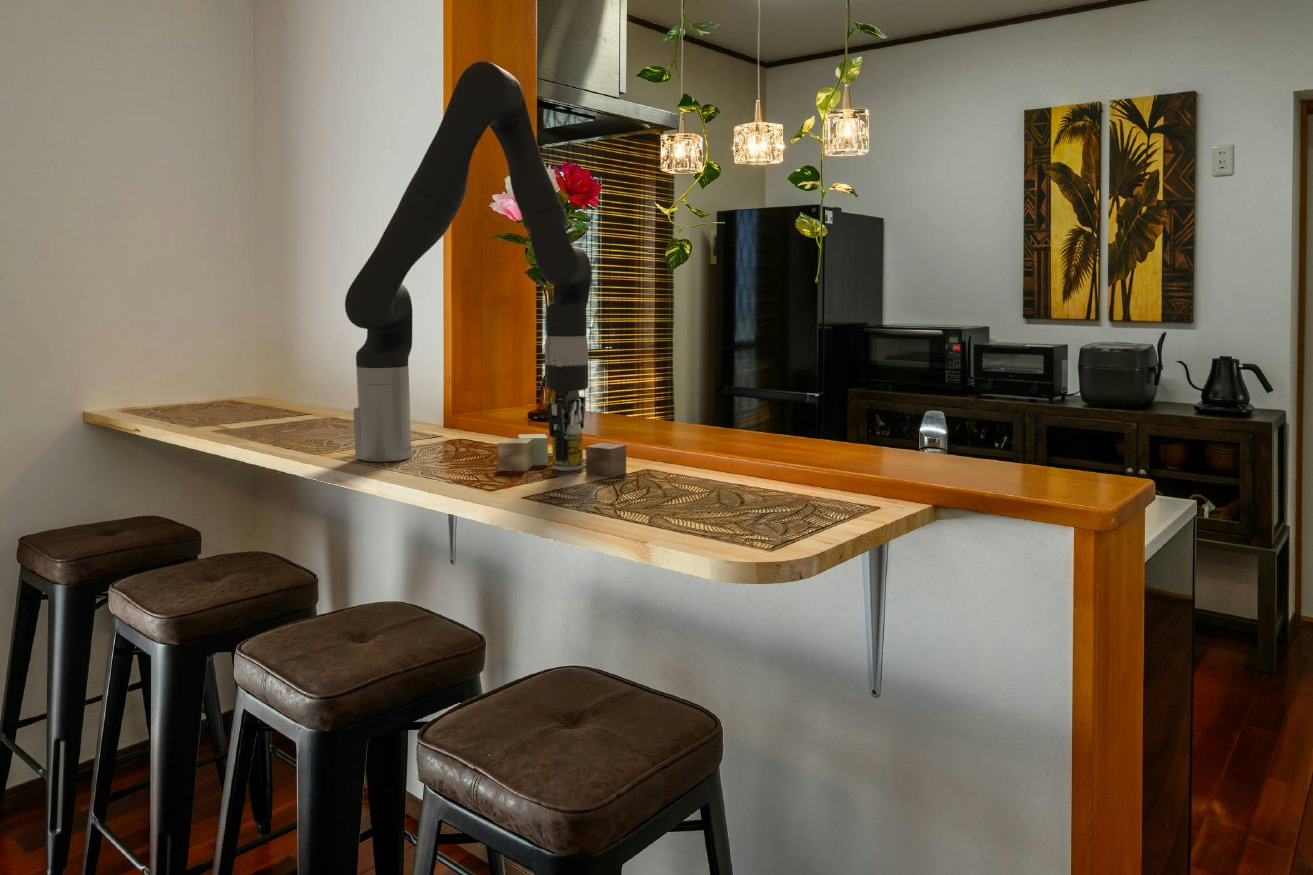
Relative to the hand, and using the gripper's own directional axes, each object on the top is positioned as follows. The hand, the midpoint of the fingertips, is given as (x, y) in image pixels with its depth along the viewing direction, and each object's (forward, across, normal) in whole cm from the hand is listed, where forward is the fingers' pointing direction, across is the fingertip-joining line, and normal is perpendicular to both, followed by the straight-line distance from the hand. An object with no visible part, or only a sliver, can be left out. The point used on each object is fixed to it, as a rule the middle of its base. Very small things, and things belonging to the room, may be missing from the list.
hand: (567, 457), depth 160 cm
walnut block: (+2, +3, +8) cm, 9 cm away
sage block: (+2, -4, -8) cm, 9 cm away
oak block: (+2, +2, -9) cm, 9 cm away
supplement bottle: (+2, 0, 0) cm, 2 cm away
